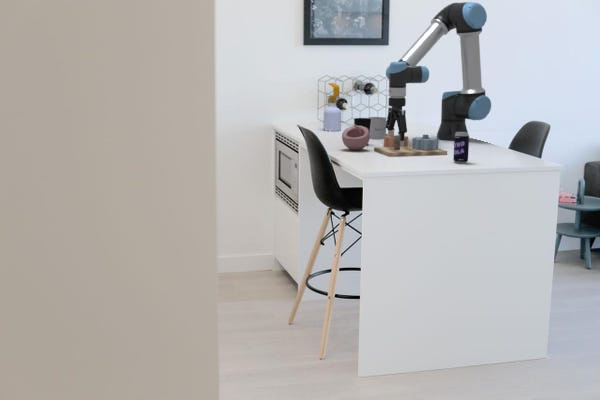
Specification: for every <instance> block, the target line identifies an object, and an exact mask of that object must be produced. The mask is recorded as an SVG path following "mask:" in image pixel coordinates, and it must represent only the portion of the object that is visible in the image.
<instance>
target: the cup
mask: <svg viewBox="0 0 600 400" xmlns="http://www.w3.org/2000/svg"><path fill="white" fill-rule="evenodd" d="M355 124H356V125H357V126H363V127H366V128H367V129H368V130H369V132H370V124H371V119H369V117H355V118H354V119H353V126H354V125H355ZM368 146H369V143H368V144H367V145H366V146H365V147H368Z"/></svg>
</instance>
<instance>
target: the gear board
mask: <svg viewBox="0 0 600 400" xmlns="http://www.w3.org/2000/svg"><path fill="white" fill-rule="evenodd" d="M394 136H395V144H394V147H384V146H379V147H376V146H375V147H373V151H374V152H376V153H378V154H382V155H384V156H387V157H389V158H390V157H391V158H392V157H393V158H394V157H417V156H418V157H421V156H424V157H425V156H426V157H427V156H447V155H448V151H447V150H444V149H441V148H438V149H436V150H428V151H424V150H415V149H412V145H411V146H409V145H408V147H400V136H399V135H398V134H397V135H395V134H394ZM422 137H423V139H428V137H429V134H423V135H422Z"/></svg>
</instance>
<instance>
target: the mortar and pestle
mask: <svg viewBox="0 0 600 400" xmlns="http://www.w3.org/2000/svg"><path fill="white" fill-rule="evenodd" d="M341 139H342V142H343V144H344V146H345V148H347V149H349V150H351V151H361V150H363V149H365V148H366V147H367V146H366V145H367V144H368V145H369V142H370V140H371V139H370V134H369V130H368V129H367V128H366V127H363V126H357V125H356V124H355V125H354V124H353V125H352V126H348V127H347V128H346V129H344V130H343V132H342V133H341Z"/></svg>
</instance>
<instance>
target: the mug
mask: <svg viewBox="0 0 600 400" xmlns="http://www.w3.org/2000/svg"><path fill="white" fill-rule="evenodd" d="M368 118H369V119H371V124H370V132H369V134H370V139H369V140H375V141H376V140H384V136H388V133H387V128H386V123H387V117H383V116H370V117H369V116H368Z"/></svg>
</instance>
